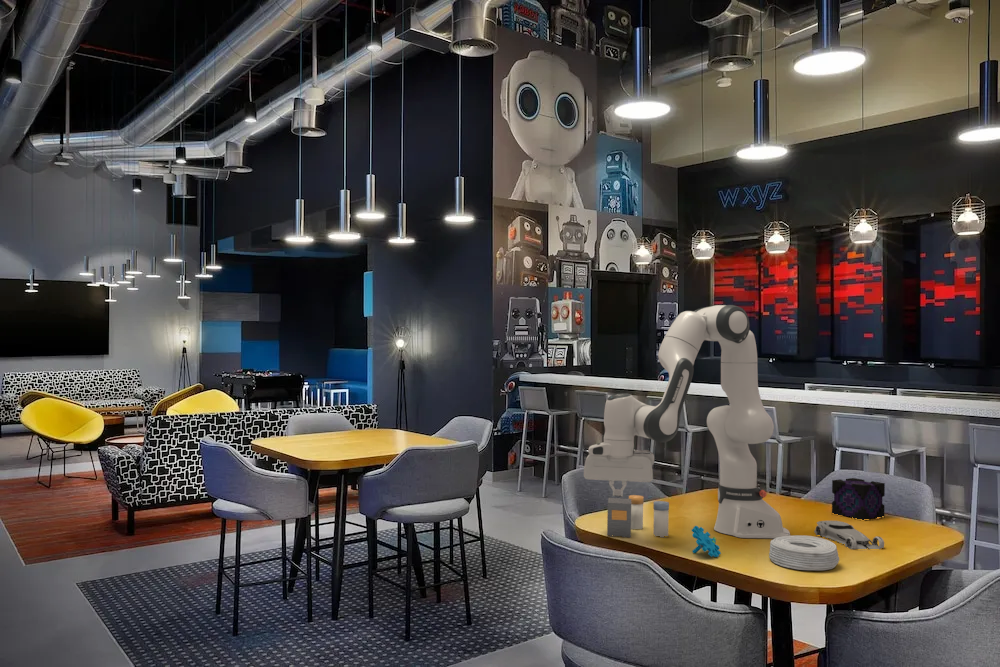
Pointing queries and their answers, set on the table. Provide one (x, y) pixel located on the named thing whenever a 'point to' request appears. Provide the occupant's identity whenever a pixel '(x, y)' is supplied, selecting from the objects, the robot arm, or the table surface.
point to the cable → (804, 553)
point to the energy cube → (858, 498)
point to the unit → (619, 517)
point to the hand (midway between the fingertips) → (617, 495)
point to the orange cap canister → (636, 511)
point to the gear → (705, 542)
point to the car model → (847, 535)
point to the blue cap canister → (661, 518)
